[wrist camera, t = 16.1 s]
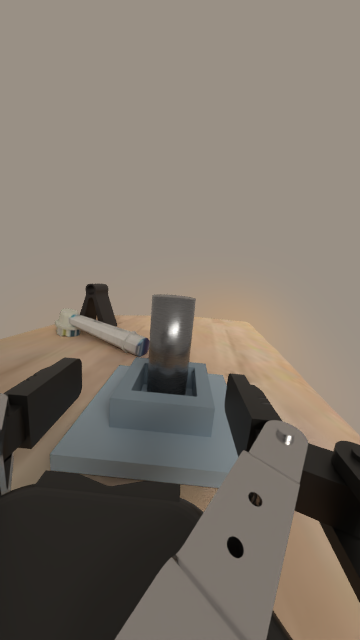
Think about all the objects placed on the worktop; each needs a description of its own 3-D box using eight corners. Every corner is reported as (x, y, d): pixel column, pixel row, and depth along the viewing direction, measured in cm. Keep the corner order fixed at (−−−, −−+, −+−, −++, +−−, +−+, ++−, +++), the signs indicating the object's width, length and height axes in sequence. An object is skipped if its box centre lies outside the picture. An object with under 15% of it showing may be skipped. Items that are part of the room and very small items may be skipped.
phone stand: (76, 326, 55) (75, 282, 52) (89, 322, 61) (89, 282, 58) (106, 331, 53) (106, 285, 51) (117, 326, 59) (118, 285, 57)
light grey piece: (137, 341, 36) (50, 304, 46) (132, 373, 38) (49, 331, 47) (153, 335, 41) (71, 302, 50) (147, 363, 43) (69, 327, 52)
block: (50, 470, 16) (47, 419, 15) (119, 374, 31) (119, 346, 30) (256, 492, 15) (267, 442, 14) (221, 383, 31) (225, 356, 30)
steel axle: (142, 412, 21) (148, 297, 18) (149, 389, 25) (155, 293, 23) (184, 416, 21) (196, 301, 18) (184, 392, 25) (194, 297, 22)
